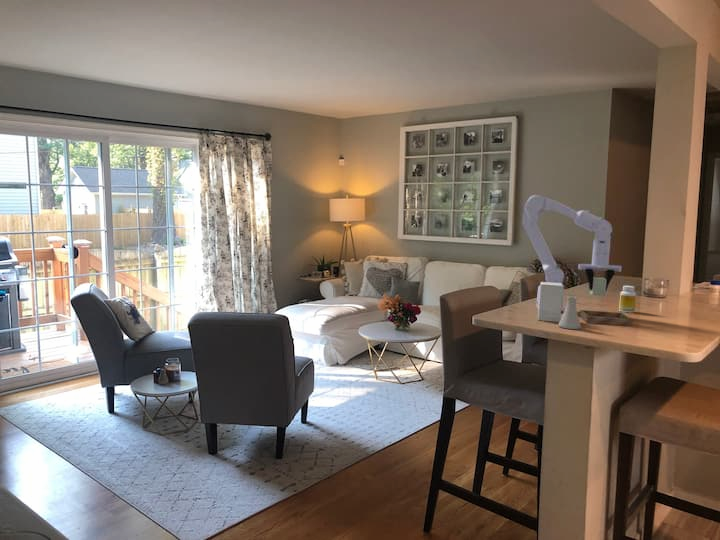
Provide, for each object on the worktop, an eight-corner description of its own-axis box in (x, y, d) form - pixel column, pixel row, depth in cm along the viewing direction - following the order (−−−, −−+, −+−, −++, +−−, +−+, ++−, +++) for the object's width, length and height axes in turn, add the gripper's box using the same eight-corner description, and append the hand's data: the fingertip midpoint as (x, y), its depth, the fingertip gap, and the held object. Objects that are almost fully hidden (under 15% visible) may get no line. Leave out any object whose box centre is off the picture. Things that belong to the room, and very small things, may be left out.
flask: (578, 331, 180) (581, 300, 179) (555, 327, 184) (557, 297, 183) (583, 327, 186) (585, 297, 185) (560, 323, 190) (562, 294, 189)
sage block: (592, 295, 207) (593, 278, 207) (589, 293, 212) (591, 277, 211) (605, 295, 207) (606, 279, 206) (602, 294, 211) (603, 278, 210)
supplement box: (560, 322, 192) (563, 285, 191) (537, 320, 194) (540, 284, 193) (559, 318, 199) (562, 282, 198) (537, 316, 201) (540, 281, 200)
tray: (586, 323, 193) (586, 316, 193) (579, 316, 204) (580, 310, 204) (630, 325, 190) (631, 319, 190) (620, 318, 202) (621, 312, 202)
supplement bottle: (636, 313, 213) (638, 287, 212) (620, 312, 214) (623, 286, 213) (632, 310, 219) (634, 285, 217) (617, 309, 220) (619, 284, 218)
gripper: (582, 253, 205) (579, 290, 206) (625, 255, 202) (621, 292, 204) (578, 251, 212) (575, 287, 213) (619, 253, 209) (616, 289, 211)
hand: (597, 289), depth 209 cm, fingers closed on sage block, 4 cm apart
